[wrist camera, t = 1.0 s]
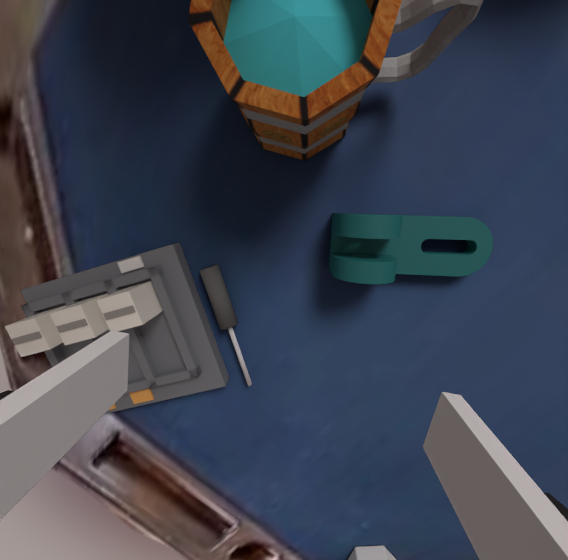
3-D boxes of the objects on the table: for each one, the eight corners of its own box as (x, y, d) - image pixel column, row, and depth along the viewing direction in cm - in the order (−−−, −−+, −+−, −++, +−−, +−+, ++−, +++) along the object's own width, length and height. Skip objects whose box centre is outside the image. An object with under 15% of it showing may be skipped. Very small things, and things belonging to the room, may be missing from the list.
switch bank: (34, 286, 39) (11, 292, 36) (179, 242, 37) (168, 245, 34) (94, 409, 43) (78, 424, 40) (229, 377, 41) (223, 391, 38)
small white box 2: (124, 288, 36) (95, 300, 31) (152, 280, 36) (127, 291, 31) (136, 317, 37) (110, 333, 32) (164, 309, 36) (142, 325, 31)
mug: (248, 168, 34) (207, 136, 19) (229, 37, 31) (164, -117, 16) (418, 144, 32) (514, 88, 18) (416, 2, 29) (528, -206, 15)
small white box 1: (43, 311, 38) (3, 326, 33) (69, 304, 37) (33, 318, 32) (56, 338, 38) (19, 357, 33) (82, 331, 38) (48, 350, 33)
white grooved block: (82, 300, 37) (48, 314, 32) (110, 292, 36) (79, 305, 31) (95, 328, 38) (63, 346, 33) (122, 321, 37) (94, 337, 32)
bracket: (328, 267, 36) (335, 282, 29) (332, 213, 35) (340, 213, 27) (475, 273, 35) (522, 290, 28) (485, 217, 34) (539, 219, 26)
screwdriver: (203, 268, 37) (196, 272, 35) (220, 263, 37) (214, 266, 35) (243, 381, 41) (239, 391, 38) (259, 377, 40) (256, 387, 38)
